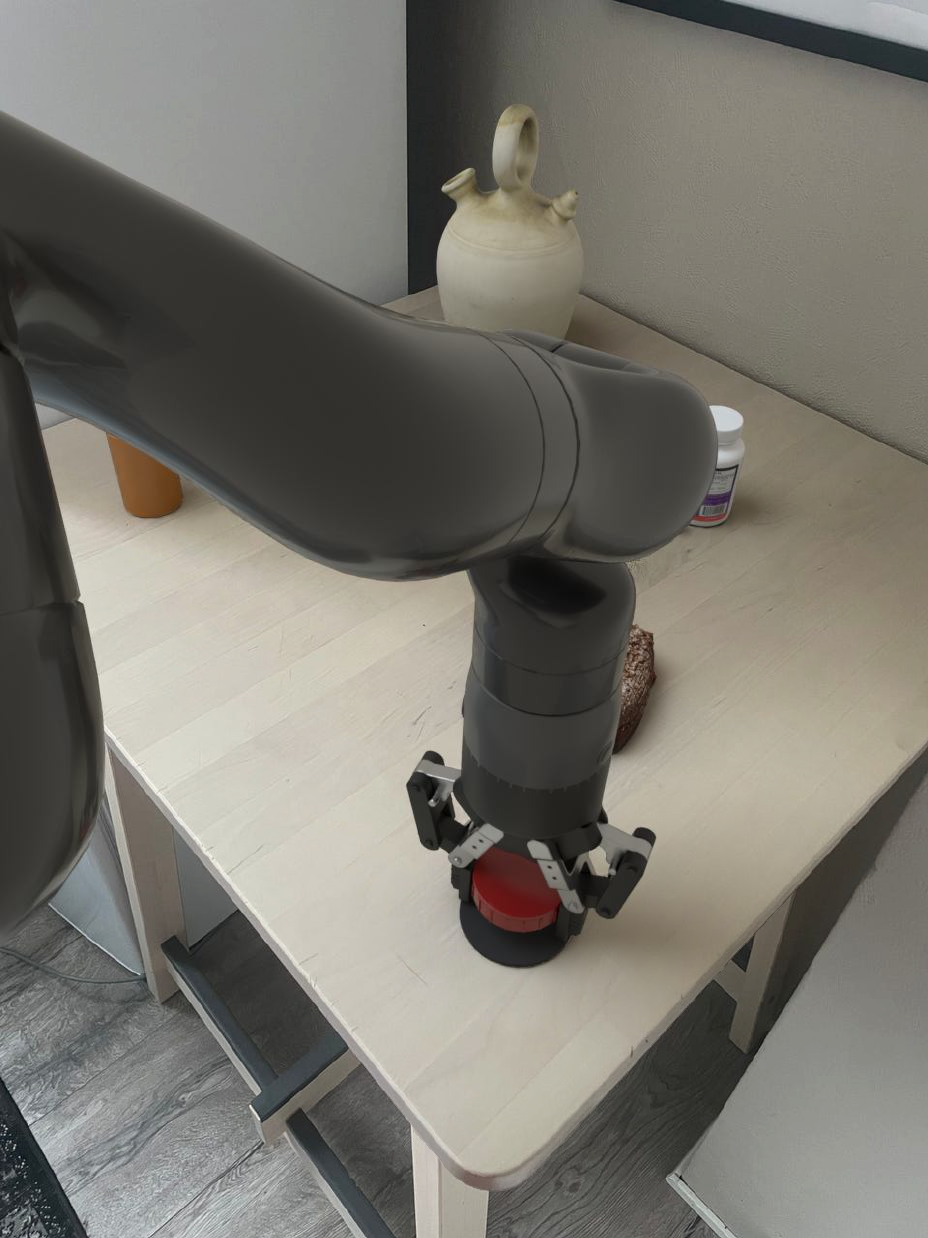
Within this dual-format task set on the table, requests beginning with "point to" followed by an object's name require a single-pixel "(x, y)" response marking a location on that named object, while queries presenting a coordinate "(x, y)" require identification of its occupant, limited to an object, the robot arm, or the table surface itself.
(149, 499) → the jam jar
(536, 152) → the jug
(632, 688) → the pastry
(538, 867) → the jar lid
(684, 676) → the table surface
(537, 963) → the coaster
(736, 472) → the pill bottle
